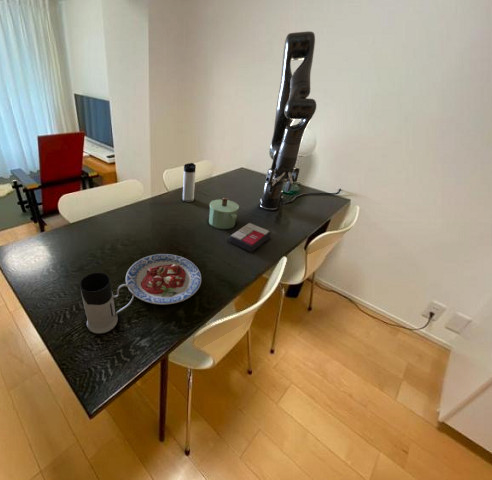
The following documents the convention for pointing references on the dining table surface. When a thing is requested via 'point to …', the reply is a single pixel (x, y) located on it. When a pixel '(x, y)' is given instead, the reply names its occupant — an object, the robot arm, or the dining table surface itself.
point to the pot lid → (224, 205)
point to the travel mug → (189, 182)
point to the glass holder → (100, 302)
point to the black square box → (250, 237)
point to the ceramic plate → (163, 279)
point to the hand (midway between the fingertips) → (278, 192)
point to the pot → (222, 219)
